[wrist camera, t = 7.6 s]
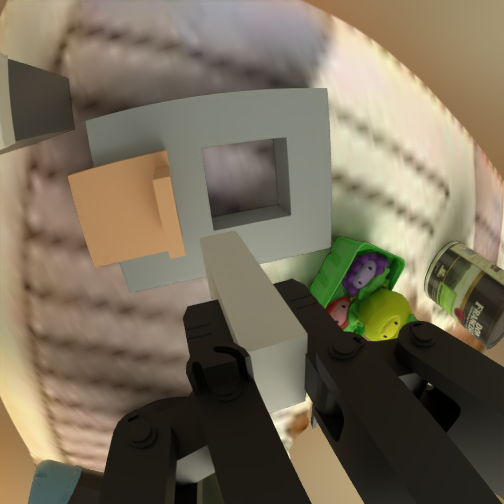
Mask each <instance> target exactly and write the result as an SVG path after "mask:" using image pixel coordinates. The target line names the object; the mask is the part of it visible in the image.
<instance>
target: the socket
mask: <svg viewBox="0 0 504 504" xmlns="http://www.w3.org/2000/svg"><path fill="white" fill-rule="evenodd" d="M85 123H86V129H87V135H88V141H89V146H90V151H91V156H92V161H93V166H94V167H96V166H99V165H103V164H107V163H110V162H114V161H118V160H122V159H126V158H130V157H134V156H139V155H143V154H147V153H152V152H157V151H161V150H167V156H168V162H169V168H170V174H171V180H172V185H173V191H174V196H175V201H176V207H177V212H178V217H179V222H180V227H181V232H182V236H183V241H184V246H185V247H184V249H185V254H186V256H182V257H177V258H173V259H170V257H169V253H168V251H165V252H161V253H156V254H152V255H147V256H143V257H139V258H134V259H130V260H125V261H121V262H119V263H120V266H121V269H122V272H123V275H124V278H125V280H126V283H127V286H128V289H129V292H130V293H134V292H138V291H143V290H148V289H152V288H157V287H161V286H166V285H170V284H175V283H179V282H184V281H188V280H193V279H197V278H202V277H206V276H207V275H206V270H205V266H204V261H203V256H202V251H201V246H200V241H199V238H202V237H206V236H211V235H215V234H220V233H225V232H229V231H234V230H236V232H237V233H238V235H239V236H240V238H241V239H242V241H243V242H244V243H245V245H246V246H247V248H248V249H249V251H250V252H251V253H252V255H253V256H254V258H255V259H256V261H257V262H258V264H263V263H267V262H272V261H276V260H280V259H284V258H289V257H293V256H297V255H301V254H306V253H310V252H314V251H318V250H322V249H326V248H331V217H332V186H331V145H330V123H329V106H328V92H327V88H286V89H263V90H248V91H237V92H226V93H218V94H209V95H202V96H195V97H188V98H182V99H176V100H170V101H165V102H160V103H155V104H150V105H145V106H141V107H136V108H132V109H128V110H124V111H120V112H116V113H112V114H108V115H105V116H101V117H97V118H94V119H91V120H87V121H85ZM264 139H273V143H274V155H275V168H276V181H277V195H278V205H275V206H269V207H264V208H258V209H253V210H248V211H243V212H237V213H232V214H227V215H222V216H217V217H212V218H211V211H210V205H209V198H208V192H207V185H206V178H205V171H204V164H203V157H202V150H201V148H207V147H213V146H219V145H226V144H233V143H240V142H248V141H256V140H264Z"/></svg>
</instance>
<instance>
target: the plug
mask: <svg viewBox="0 0 504 504" xmlns="http://www.w3.org/2000/svg"><path fill="white" fill-rule="evenodd" d="M74 129H75V126H74V120H73V113H72V105H71V97H70V89H69V79H68V78H65V77H62V76H60V75H57V74H54V73H51V72H48V71H45V70H42V69H39V68H36V67H33V66H30V65H27V64H24V63H20V62H17V61H14V60H10V59H8V56H7V55H4V54H0V155H1V154H4V153H7V152H10V151H13V150H16V149H19V148H23V147H26V146H30V145H32V144H35V143H37V142H40V141H43V140H45V139H48V138H51V137H53V136H56V135H59V134H62V133H65V132H68V131H71V130H74Z"/></svg>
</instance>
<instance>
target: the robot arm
mask: <svg viewBox="0 0 504 504" xmlns="http://www.w3.org/2000/svg"><path fill="white" fill-rule="evenodd" d="M199 241H200V246H201V251H202V256H203V261H204V266H205V270H206V275H207V280H208V285H209V289H210V294H211V297H212V300H213V301H209V302H205V303H200V304H196V305H192V306H188V307H187V309H186V312H185V314H184V316H183V321H184V327H185V331H186V338H187V343H188V348H189V354H190V358H189V360H188V362H187V365H186V374H187V377H188V379H189V381H190V384H191V386H192V389H193V390H192V392H191V394H190V395H189V397H188V398H172V399H166V400H161V401H157V402H154V403H151V404H149V405H147V406H145V407H143V408H141V409H140V410H136V411H133V412H131V413H129V414H127V415H125V416H124V417H123V418H122V419H121V420H120V421H119V422H118V423H117V425H116V428H115V430H114V432H113V436H112V440H111V444H110V449H109V453H108V457H107V462H106V467H105V471H104V473H103V472H98V471H94V470H90V469H86V468H82V466H79V465H76V466H73V465H69V464H65V463H61V462H57V461H54V460H44V461H42V462H40V463H39V464H38V466H37V468H36V471H35V474H34V478H33V482H32V486H31V491H30V496H29V501H28V504H312V503H311V501H310V500H309V497H308V496H307V493H306V491H305V489H304V488H303V486H302V483H301V481H300V480H299V477H298V475H297V473H296V471H295V469H294V467H293V465H292V463H291V460H290V458H289V456H288V454H287V452H286V450H285V448H284V446H283V443H282V441H281V439H280V437H279V435H278V432H277V430H276V428H275V426H274V424H273V421H272V419H271V417H270V415H269V413H272V412H275V411H278V410H281V409H284V408H287V407H290V406H293V405H296V404H299V403H301V402H304V401H305V397H306V392H307V394H308V395H309V397H310V399H311V400H312V402H313V405H312V416H311V425H312V428H316V424H317V423H318V424H319V426H320V428H321V430H322V431H323V433H324V435H325V436H326V438H327V440H328V442H329V444H330V445H331V447H332V449H333V451H334V452H335V454H336V456H337V458H338V459H339V461H340V463H341V464H342V466H343V468H344V469H345V471H346V473H347V475H348V476H349V478H350V480H351V481H352V483H353V485H354V487H355V488H356V490H357V492H358V493H359V495H360V497H361V498H362V500H363V502H364V504H502V503H501V502H500V500H499V499H498V498H497V497H496V495H495V494H497V495H498V496H500V497H501V498H503V499H504V367H503V366H501V365H499V364H498V363H496V362H494V361H493V360H491V359H490V358H488V357H487V356H485V355H483V354H482V353H480V352H479V351H477V350H475V349H474V348H472V347H470V346H469V345H467V344H465V343H464V342H462V341H461V340H459V339H457V338H456V337H454V336H452V335H451V334H449V333H447V332H446V331H444V330H442V329H441V328H439V327H437V326H436V325H433V324H431V323H429V322H425V321H412V322H409V323H407V324H405V325H403V326H402V328H401V329H400V331H399V333H398V337H397V338H394V339H387V340H380V341H367V340H366V339H365V338H363V337H362V336H361V335H359V334H356V333H353V332H350V331H343V329H342V328H341V327H340V326H339V325H338V324H337V322H336V321H335V320H334V319H333V318H332V316H331V315H330V314H329V313H328V312H327V311H326V309H325V308H324V307H323V306H322V305H321V304H320V303H319V301H318V300H317V299H316V298H315V297H314V296H313V295H312V293H311V292H310V291H309V290H308V288H307V287H306V286H305V285H304V284H302V283H300V282H298V281H296V280H294V279H290V280H286V281H282V282H279V283H275V284H272V282H271V281H270V279H269V278H268V276H267V275H266V274H265V272H264V271H263V269H262V268H261V266H260V265H259V264H258V262H257V261H256V259H255V258H254V256H253V255H252V253H251V252H250V251H249V249H248V248H247V246H246V245H245V243H244V242H243V241H242V239H241V238H240V236H239V235H238V233H237V232H236V230H234V231H229V232H225V233H220V234H215V235H211V236H206V237H202V238H199ZM428 382H429V383H430V384H432V385H433V386H430V385H428ZM494 493H495V494H494Z"/></svg>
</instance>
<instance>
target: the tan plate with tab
mask: <svg viewBox="0 0 504 504" xmlns="http://www.w3.org/2000/svg"><path fill="white" fill-rule="evenodd" d="M68 180H69V184H70V188H71V192H72V196H73V200H74V203H75V207H76V211H77V214H78V217H79V221H80V224H81V227H82V231H83V234H84V237H85V240H86V243H87V246H88V249H89V252H90V255H91V258H92V261H93V264H94V266H95V267H100V266H104V265H108V264H112V263H117V262H121V261H125V260H130V259H134V258H139V257H143V256H147V255H152V254H156V253H161V252H165V251H168V253H169V257H170V259H173V258H177V257H182V256H186V254H185V249H184V247H185V246H184V241H183V236H182V232H181V227H180V222H179V217H178V212H177V207H176V201H175V196H174V191H173V185H172V180H171V174H170V168H169V162H168V156H167V150H161V151H157V152H152V153H147V154H143V155H139V156H134V157H130V158H126V159H122V160H118V161H114V162H110V163H107V164H103V165H99V166H96V167H92V168H89V169H85V170H82V171H79V172H75V173H72V174H70V175H68Z"/></svg>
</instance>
